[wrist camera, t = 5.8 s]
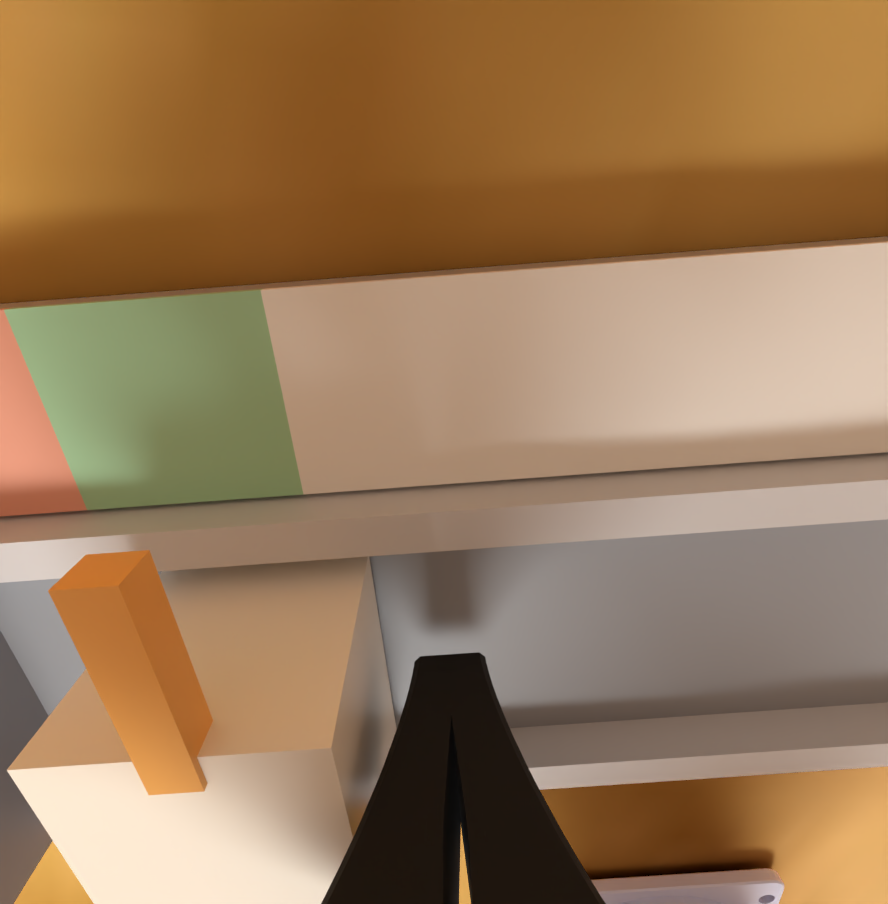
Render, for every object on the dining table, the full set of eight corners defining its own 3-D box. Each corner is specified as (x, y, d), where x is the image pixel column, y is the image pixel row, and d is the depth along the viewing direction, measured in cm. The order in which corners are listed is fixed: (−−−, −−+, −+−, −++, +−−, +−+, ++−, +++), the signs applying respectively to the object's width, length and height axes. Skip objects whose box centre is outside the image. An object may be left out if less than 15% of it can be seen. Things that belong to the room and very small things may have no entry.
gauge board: (939, 702, 14) (1194, 942, 9) (62, 762, 14) (-120, 1026, 9) (1170, 214, 9) (1986, 200, 4) (-196, 318, 9) (-855, 414, 4)
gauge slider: (396, 729, 12) (380, 960, 8) (228, 740, 12) (133, 976, 8) (347, 424, 9) (285, 573, 5) (118, 441, 9) (-117, 602, 5)
